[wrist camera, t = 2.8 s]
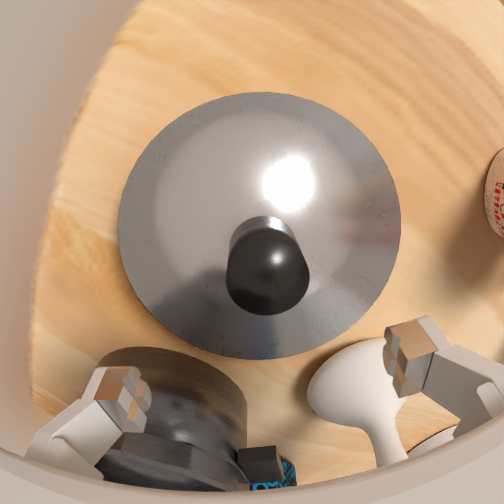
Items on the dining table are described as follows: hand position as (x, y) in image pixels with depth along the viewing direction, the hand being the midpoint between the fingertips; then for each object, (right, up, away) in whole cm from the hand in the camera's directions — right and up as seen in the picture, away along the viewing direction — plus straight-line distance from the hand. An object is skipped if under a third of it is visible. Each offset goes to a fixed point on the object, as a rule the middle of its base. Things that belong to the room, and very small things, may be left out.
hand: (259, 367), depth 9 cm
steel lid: (0, +5, +12) cm, 13 cm away
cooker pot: (-9, -13, +19) cm, 25 cm away
